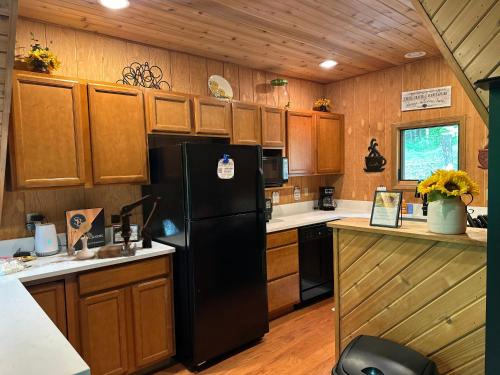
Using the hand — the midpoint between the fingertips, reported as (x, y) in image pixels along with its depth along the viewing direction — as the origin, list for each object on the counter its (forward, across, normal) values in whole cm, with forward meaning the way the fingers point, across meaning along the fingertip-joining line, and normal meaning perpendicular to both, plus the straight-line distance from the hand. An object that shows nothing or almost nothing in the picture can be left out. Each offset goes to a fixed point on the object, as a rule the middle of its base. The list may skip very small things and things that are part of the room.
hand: (127, 244), depth 248 cm
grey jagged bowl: (+4, +13, 0) cm, 14 cm away
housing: (+4, +13, -9) cm, 16 cm away
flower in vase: (+4, +16, -24) cm, 29 cm away
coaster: (+1, 0, 0) cm, 1 cm away
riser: (+4, 0, 0) cm, 4 cm away
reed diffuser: (+4, +1, -36) cm, 36 cm away
